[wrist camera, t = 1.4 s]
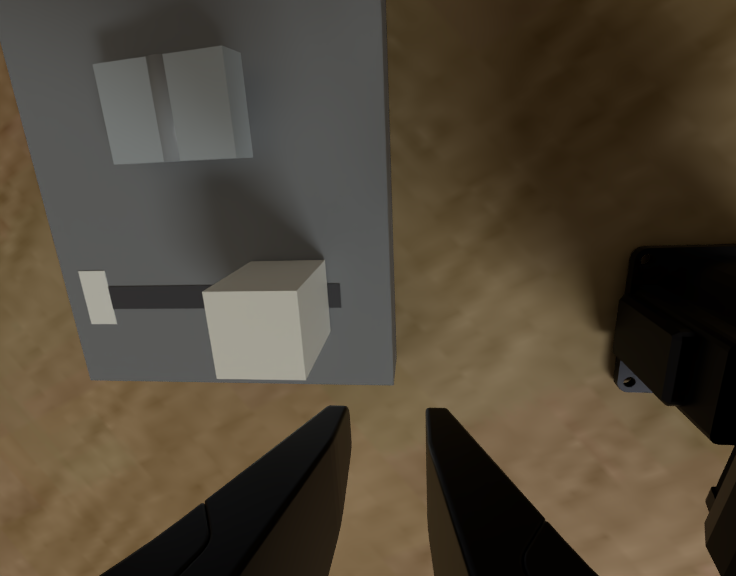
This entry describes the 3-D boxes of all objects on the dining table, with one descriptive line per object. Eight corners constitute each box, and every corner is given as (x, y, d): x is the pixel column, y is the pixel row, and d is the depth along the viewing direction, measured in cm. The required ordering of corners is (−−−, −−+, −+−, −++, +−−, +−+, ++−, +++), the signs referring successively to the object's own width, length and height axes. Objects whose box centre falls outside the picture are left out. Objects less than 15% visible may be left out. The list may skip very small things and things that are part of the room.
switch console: (378, -254, 14) (368, -352, 11) (396, 358, 20) (393, 388, 18) (-2, -190, 15) (-90, -261, 13) (126, 355, 22) (85, 383, 19)
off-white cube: (325, 259, 16) (296, 290, 13) (330, 331, 17) (305, 380, 13) (251, 261, 17) (202, 291, 13) (260, 331, 18) (216, 378, 14)
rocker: (242, 53, 14) (219, 44, 12) (254, 157, 15) (234, 157, 13) (119, 70, 15) (89, 63, 14) (138, 163, 16) (111, 164, 15)
